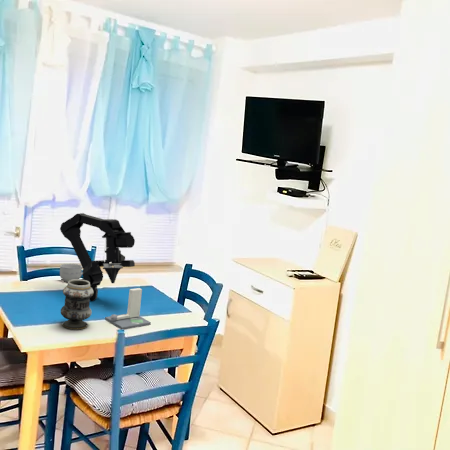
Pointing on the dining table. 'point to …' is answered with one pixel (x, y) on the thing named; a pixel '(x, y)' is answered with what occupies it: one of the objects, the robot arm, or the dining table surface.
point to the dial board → (129, 322)
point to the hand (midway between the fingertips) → (113, 283)
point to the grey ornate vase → (76, 304)
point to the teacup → (70, 271)
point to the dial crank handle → (131, 305)
